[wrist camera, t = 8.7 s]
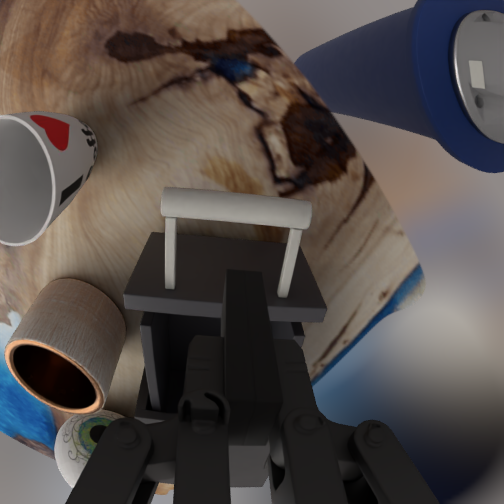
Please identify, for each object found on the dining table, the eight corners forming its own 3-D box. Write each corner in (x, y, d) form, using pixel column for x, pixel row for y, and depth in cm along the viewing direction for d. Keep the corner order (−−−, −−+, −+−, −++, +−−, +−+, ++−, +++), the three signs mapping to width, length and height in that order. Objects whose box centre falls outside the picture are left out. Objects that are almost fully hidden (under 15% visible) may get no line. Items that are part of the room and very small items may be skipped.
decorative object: (171, 410, 39) (163, 506, 26) (148, 447, 45) (141, 521, 32) (70, 375, 35) (38, 467, 22) (68, 420, 41) (48, 492, 28)
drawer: (153, 157, 23) (116, 191, 15) (314, 173, 24) (356, 215, 16) (158, 365, 33) (147, 431, 25) (268, 372, 35) (277, 437, 27)
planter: (65, 351, 33) (40, 411, 24) (27, 279, 28) (-16, 336, 19) (140, 350, 33) (125, 419, 25) (107, 269, 28) (71, 337, 19)
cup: (123, 182, 24) (73, 233, 15) (48, 202, 24) (-14, 255, 15) (103, 89, 20) (37, 93, 11) (27, 119, 20) (-49, 143, 11)
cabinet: (152, 333, 32) (134, 416, 22) (278, 342, 34) (295, 424, 24) (162, 418, 40) (155, 482, 31) (255, 423, 42) (262, 486, 32)
